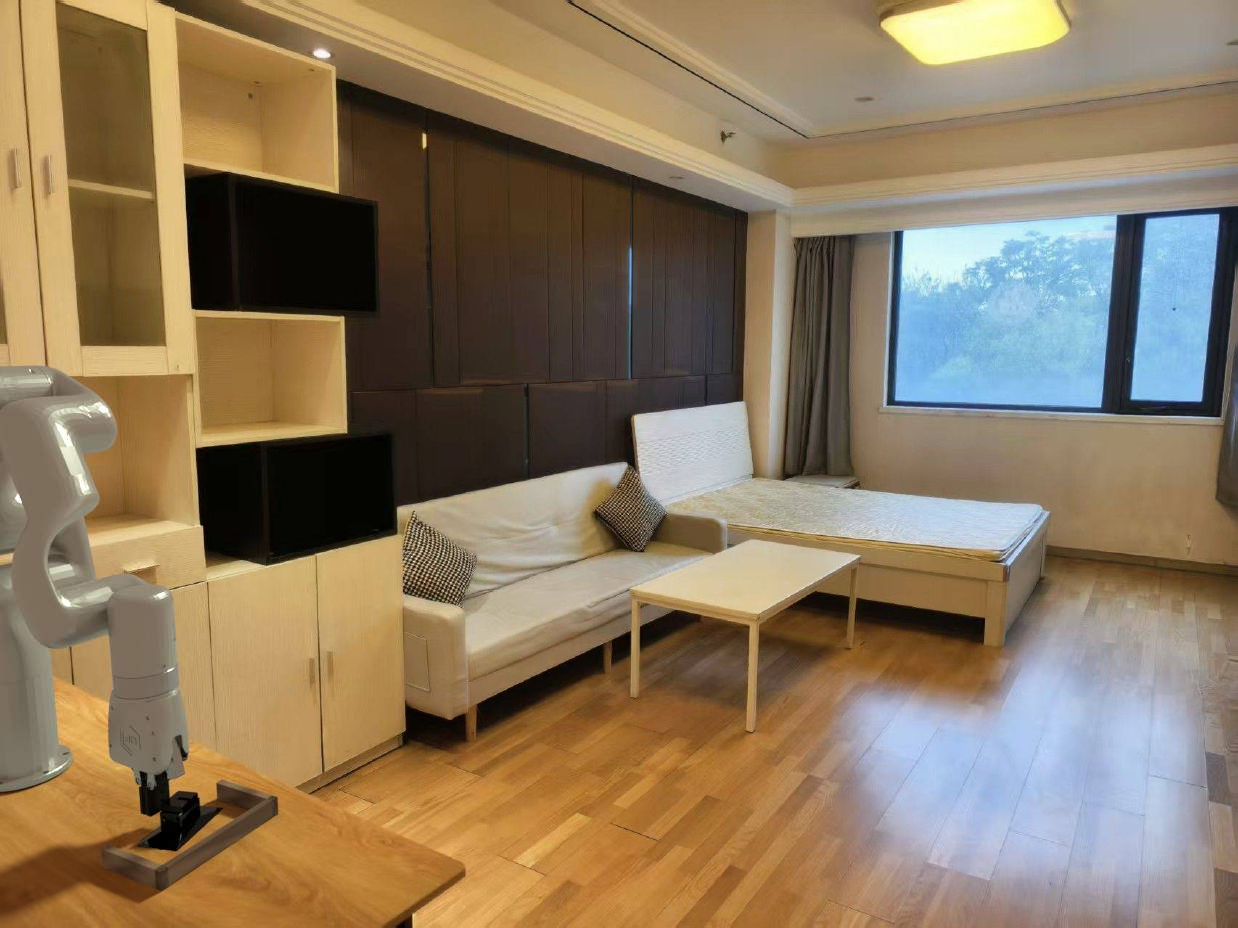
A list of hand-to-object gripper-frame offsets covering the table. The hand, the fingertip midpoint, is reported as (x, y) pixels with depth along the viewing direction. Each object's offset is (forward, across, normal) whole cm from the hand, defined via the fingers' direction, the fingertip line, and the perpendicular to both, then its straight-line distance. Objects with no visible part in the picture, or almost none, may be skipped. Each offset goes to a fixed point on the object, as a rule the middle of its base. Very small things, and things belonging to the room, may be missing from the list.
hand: (155, 810), depth 113 cm
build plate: (+3, +3, +1) cm, 4 cm away
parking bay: (+2, +7, 0) cm, 7 cm away
